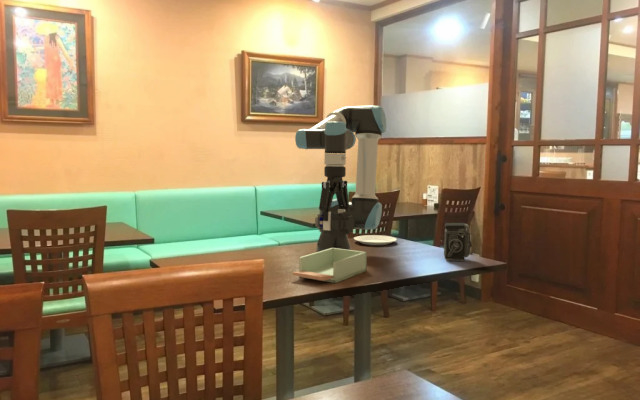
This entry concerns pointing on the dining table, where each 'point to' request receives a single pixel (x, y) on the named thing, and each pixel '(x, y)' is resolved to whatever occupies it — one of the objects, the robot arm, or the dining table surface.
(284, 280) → the dining table surface
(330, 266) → the tray
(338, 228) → the toy
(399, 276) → the dining table surface
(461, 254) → the camera
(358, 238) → the plate
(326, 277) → the panel
